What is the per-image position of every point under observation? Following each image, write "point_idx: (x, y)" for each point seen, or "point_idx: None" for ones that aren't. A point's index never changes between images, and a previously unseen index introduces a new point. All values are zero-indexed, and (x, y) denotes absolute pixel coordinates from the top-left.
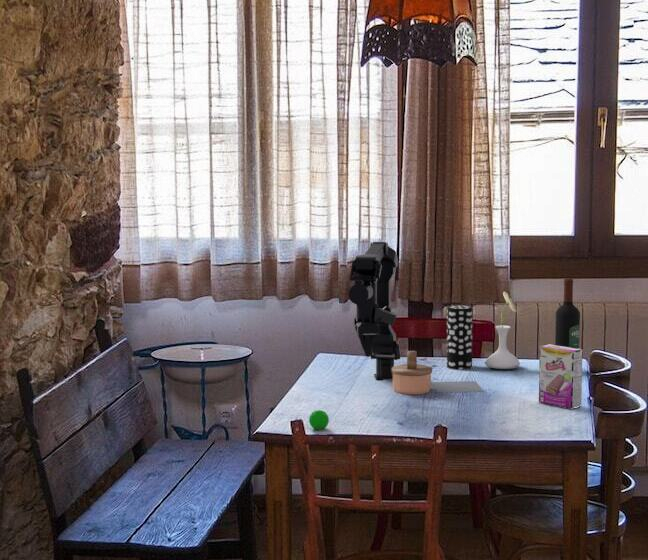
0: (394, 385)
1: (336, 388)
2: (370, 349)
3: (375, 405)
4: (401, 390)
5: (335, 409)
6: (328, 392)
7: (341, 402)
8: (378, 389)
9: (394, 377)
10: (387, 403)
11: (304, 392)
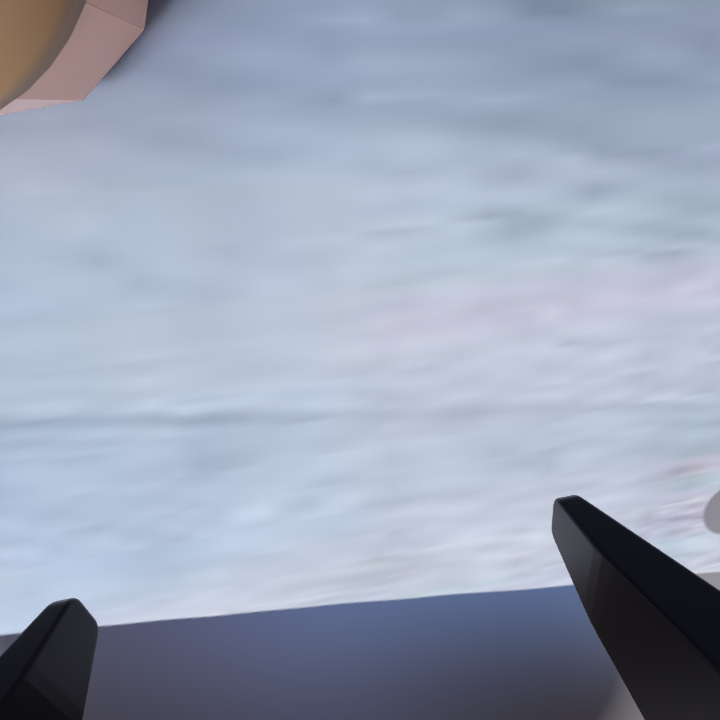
0: (73, 91)
1: (109, 486)
2: (696, 587)
3: (520, 219)
4: (143, 6)
5: (580, 415)
6: (220, 502)
7: (437, 413)
8: (25, 243)
9: (31, 89)
10: (469, 134)
11: (246, 581)
